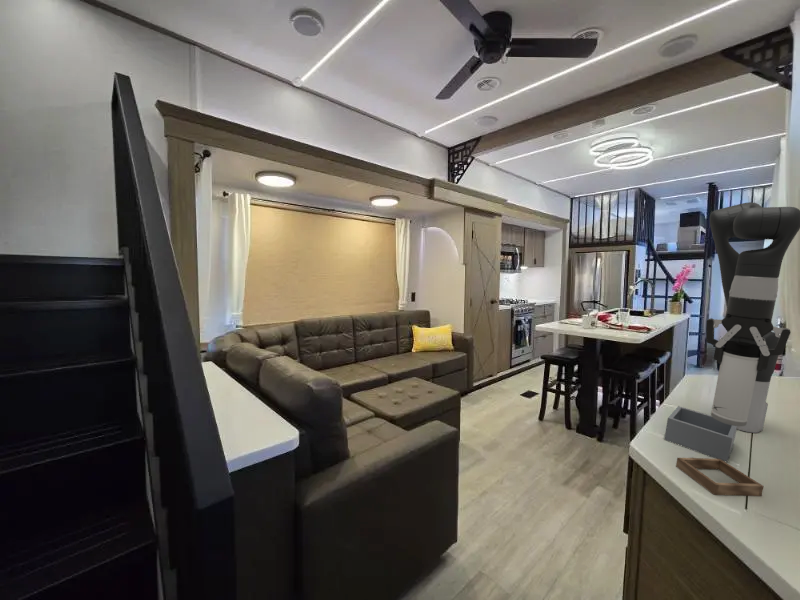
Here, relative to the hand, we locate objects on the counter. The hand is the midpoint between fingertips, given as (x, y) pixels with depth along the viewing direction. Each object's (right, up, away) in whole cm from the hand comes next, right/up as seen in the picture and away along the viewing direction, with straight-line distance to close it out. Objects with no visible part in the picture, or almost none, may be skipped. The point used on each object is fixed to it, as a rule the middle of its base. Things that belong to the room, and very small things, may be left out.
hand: (738, 366), depth 81 cm
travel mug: (-1, -14, +2) cm, 14 cm away
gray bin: (+10, -27, +22) cm, 36 cm away
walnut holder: (-2, -29, +4) cm, 29 cm away
